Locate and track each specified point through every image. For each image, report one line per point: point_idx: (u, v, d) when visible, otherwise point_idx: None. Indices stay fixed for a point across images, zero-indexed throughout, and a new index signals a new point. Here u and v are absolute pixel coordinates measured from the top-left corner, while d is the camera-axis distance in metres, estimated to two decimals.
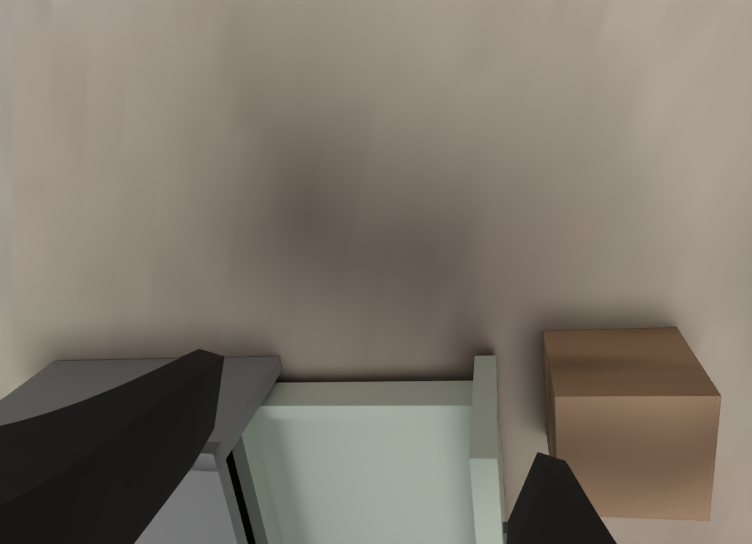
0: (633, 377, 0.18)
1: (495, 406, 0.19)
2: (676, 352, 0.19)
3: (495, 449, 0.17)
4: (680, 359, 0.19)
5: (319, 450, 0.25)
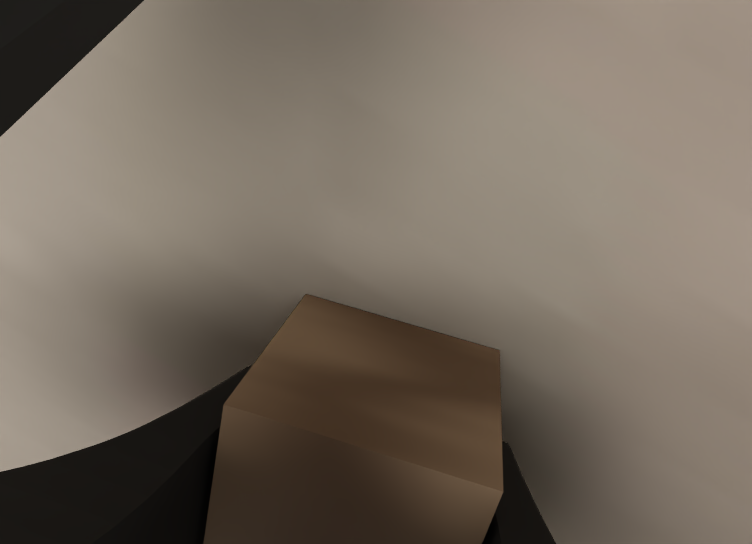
0: None
1: None
2: None
3: None
4: None
5: None
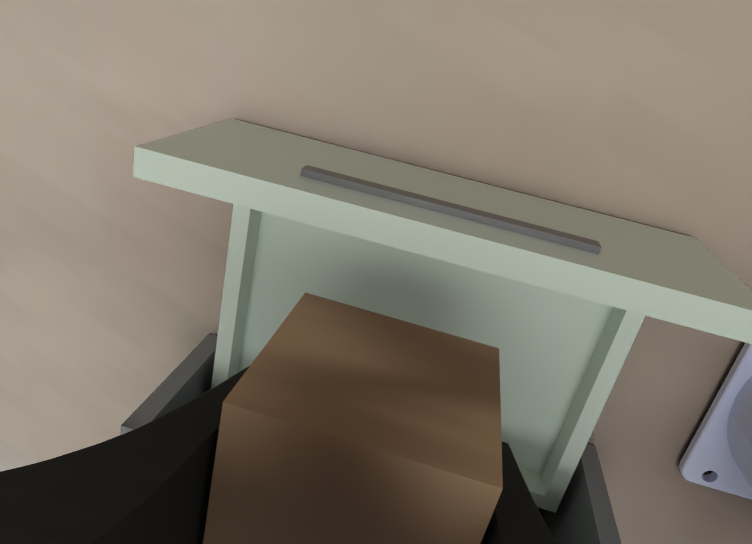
0: None
1: (184, 133, 0.17)
2: None
3: None
4: None
5: None
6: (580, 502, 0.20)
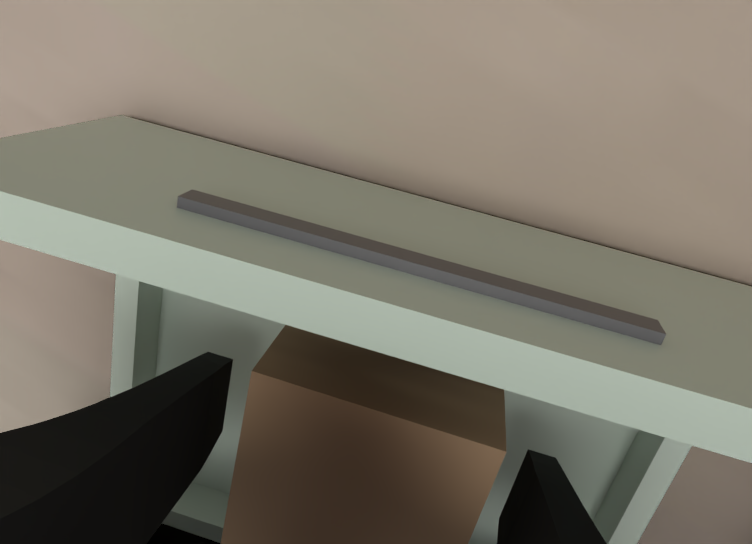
0: None
1: (18, 136, 0.11)
2: None
3: None
4: None
5: (233, 421, 0.16)
6: None
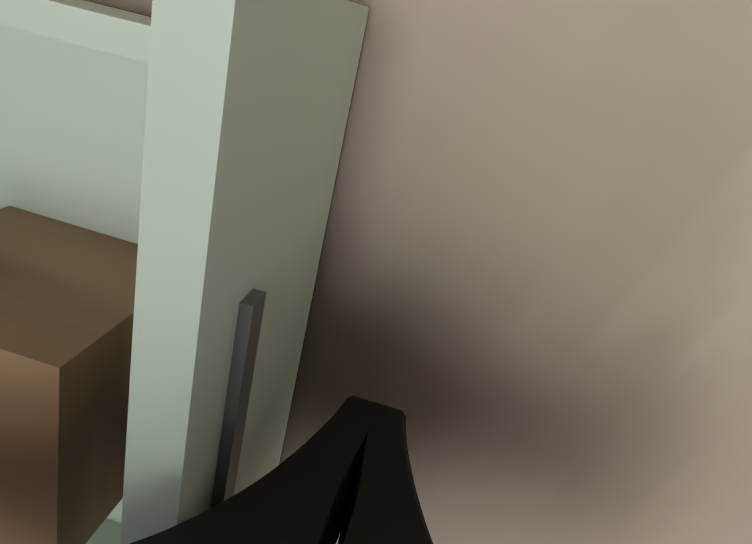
0: None
1: None
2: (129, 290, 0.11)
3: None
4: (114, 300, 0.11)
5: None
6: None
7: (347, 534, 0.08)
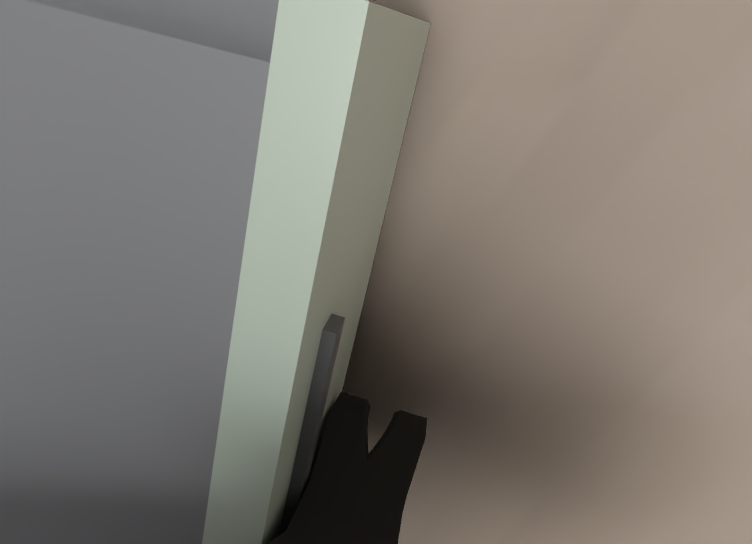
0: None
1: None
2: None
3: (372, 2, 0.05)
4: None
5: None
6: None
7: (293, 517, 0.08)
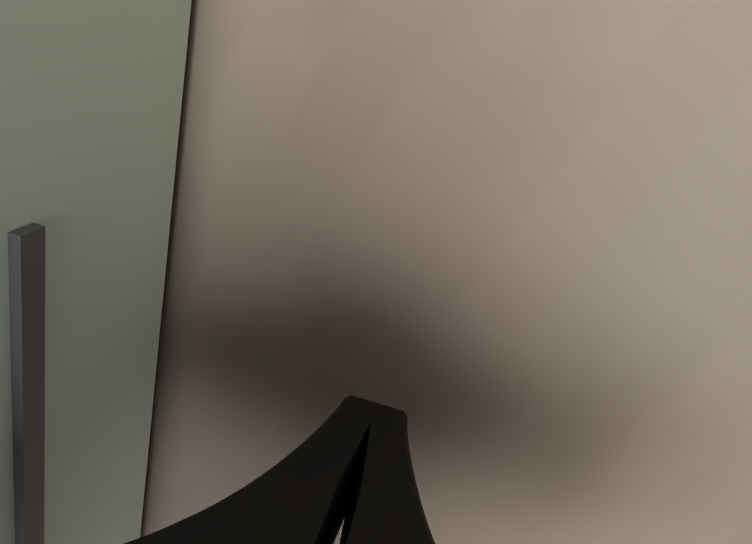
0: None
1: None
2: None
3: None
4: None
5: None
6: None
7: (349, 535, 0.08)
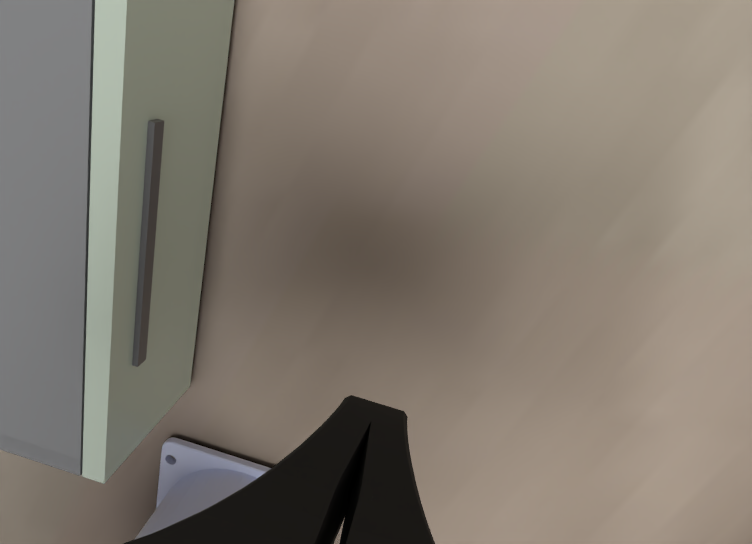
0: None
1: None
2: None
3: None
4: None
5: None
6: None
7: (349, 535, 0.08)
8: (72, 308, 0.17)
